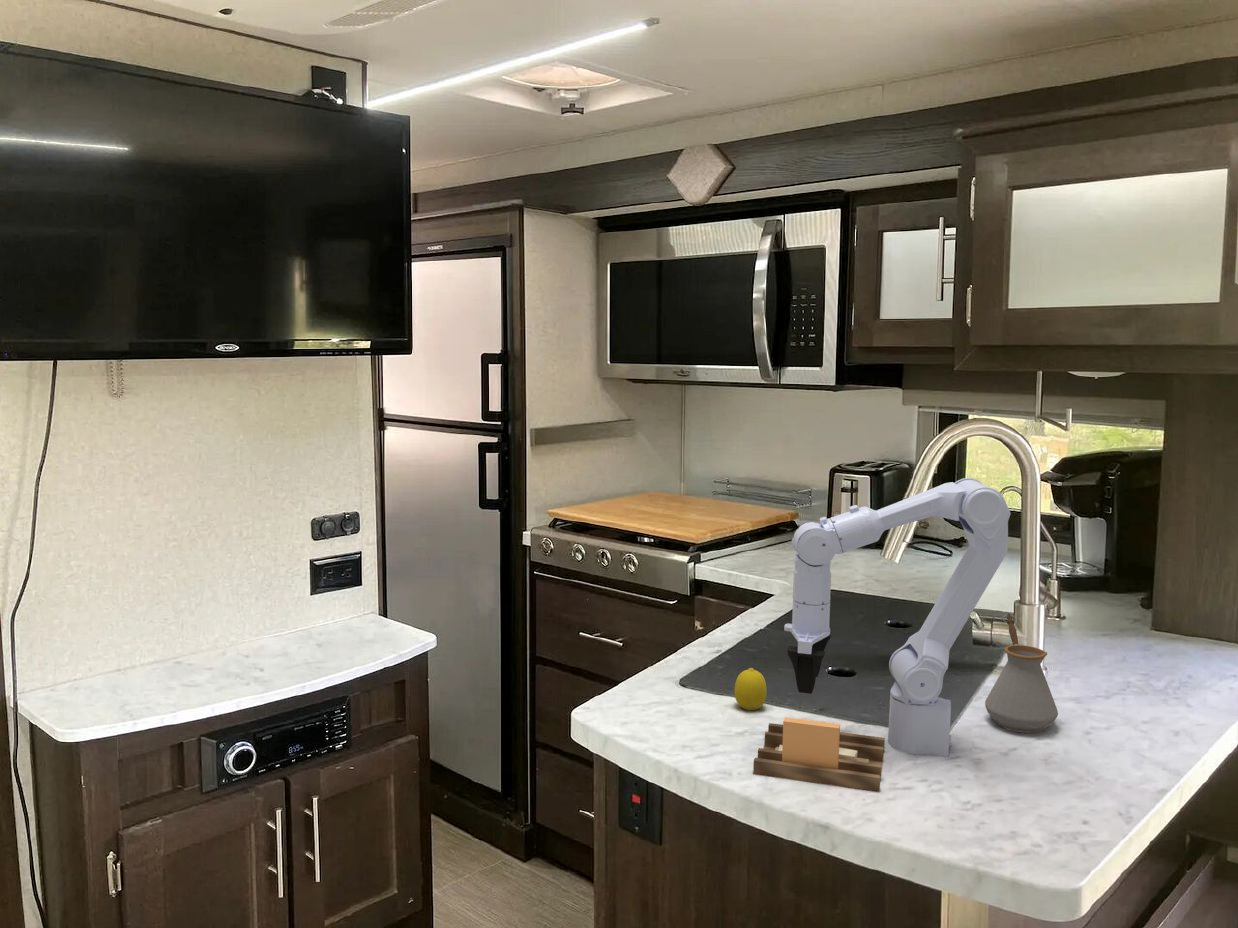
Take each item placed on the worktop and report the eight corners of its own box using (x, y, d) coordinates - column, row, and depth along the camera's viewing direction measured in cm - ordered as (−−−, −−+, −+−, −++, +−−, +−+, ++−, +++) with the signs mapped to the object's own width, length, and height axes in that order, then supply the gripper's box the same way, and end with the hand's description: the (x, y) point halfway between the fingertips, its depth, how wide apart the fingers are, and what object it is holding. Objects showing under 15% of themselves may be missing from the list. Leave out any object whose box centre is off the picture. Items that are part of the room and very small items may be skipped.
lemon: (744, 703, 175) (746, 660, 174) (772, 711, 171) (773, 667, 170) (727, 713, 171) (728, 668, 169) (755, 721, 167) (756, 676, 166)
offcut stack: (868, 762, 149) (869, 749, 149) (867, 772, 146) (867, 759, 146) (776, 750, 153) (776, 737, 153) (772, 759, 150) (773, 746, 150)
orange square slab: (837, 775, 145) (839, 723, 144) (836, 780, 143) (838, 728, 142) (783, 768, 147) (784, 717, 146) (781, 772, 146) (783, 721, 145)
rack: (884, 752, 155) (885, 734, 155) (878, 798, 140) (879, 778, 140) (770, 737, 160) (770, 720, 160) (752, 780, 145) (753, 760, 145)
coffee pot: (1064, 740, 160) (1070, 651, 158) (989, 734, 163) (995, 646, 161) (1036, 693, 181) (1042, 614, 179) (970, 688, 183) (975, 610, 181)
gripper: (792, 586, 162) (789, 666, 164) (778, 610, 148) (776, 696, 150) (835, 590, 160) (832, 670, 162) (826, 614, 146) (823, 702, 148)
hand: (808, 683), depth 156 cm, fingers open, 7 cm apart
